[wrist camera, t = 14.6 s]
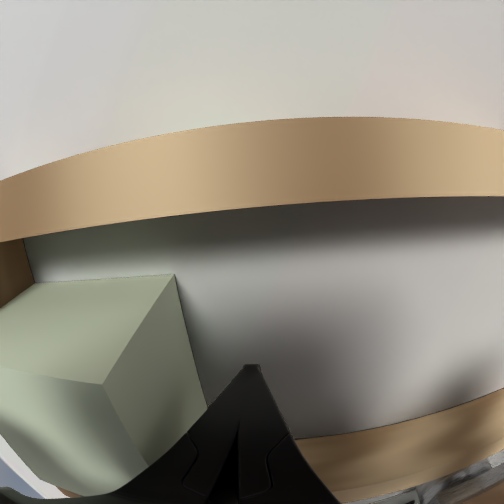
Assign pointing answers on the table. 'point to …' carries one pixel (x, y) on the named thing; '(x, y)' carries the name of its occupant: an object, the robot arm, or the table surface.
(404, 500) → the neon sign
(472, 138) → the bay
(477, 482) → the grey square pedestal
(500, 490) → the block
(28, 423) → the pale green block
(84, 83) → the table surface
